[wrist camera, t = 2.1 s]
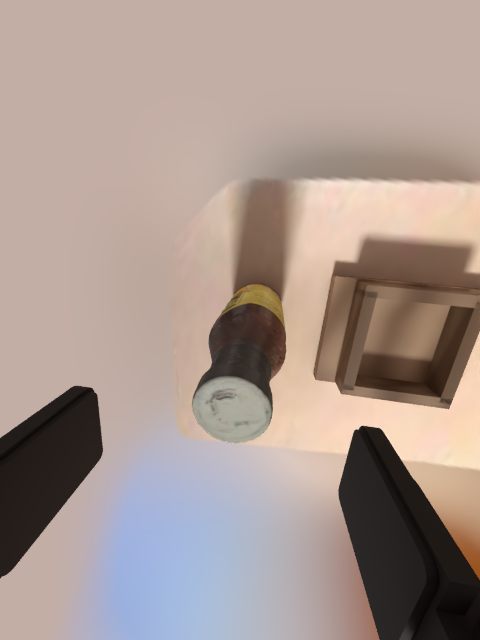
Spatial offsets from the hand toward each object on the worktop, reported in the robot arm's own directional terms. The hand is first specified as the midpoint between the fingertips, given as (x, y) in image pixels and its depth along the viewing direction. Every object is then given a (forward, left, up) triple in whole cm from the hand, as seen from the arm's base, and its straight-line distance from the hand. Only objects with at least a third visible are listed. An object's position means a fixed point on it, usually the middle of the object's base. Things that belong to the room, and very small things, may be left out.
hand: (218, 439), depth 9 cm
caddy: (-16, +2, -23) cm, 28 cm away
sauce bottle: (0, +1, -23) cm, 23 cm away
